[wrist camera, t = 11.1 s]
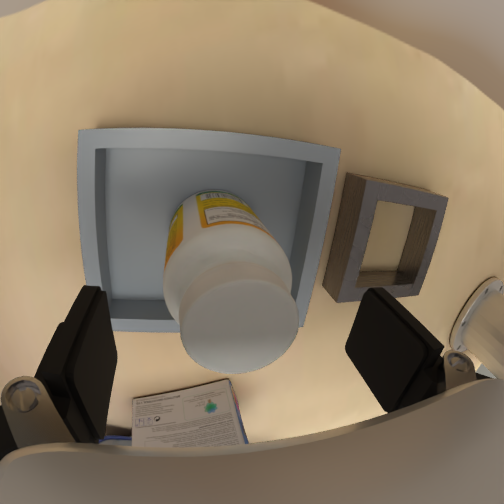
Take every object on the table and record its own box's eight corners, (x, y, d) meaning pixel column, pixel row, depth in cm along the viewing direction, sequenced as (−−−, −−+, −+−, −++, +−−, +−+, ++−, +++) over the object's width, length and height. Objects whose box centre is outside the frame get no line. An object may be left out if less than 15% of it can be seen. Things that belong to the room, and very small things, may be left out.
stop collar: (428, 189, 21) (448, 197, 19) (402, 281, 25) (418, 295, 22) (346, 172, 19) (366, 179, 17) (322, 285, 22) (336, 302, 20)
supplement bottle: (228, 171, 16) (283, 222, 8) (269, 243, 19) (338, 338, 10) (150, 219, 16) (124, 317, 8) (198, 284, 19) (217, 403, 10)
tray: (318, 144, 18) (340, 148, 15) (288, 303, 22) (303, 327, 20) (95, 129, 14) (78, 129, 11) (103, 304, 19) (95, 329, 16)
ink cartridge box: (153, 426, 26) (163, 547, 13) (129, 397, 23) (130, 539, 10) (241, 407, 27) (280, 532, 14) (228, 376, 24) (271, 526, 11)
